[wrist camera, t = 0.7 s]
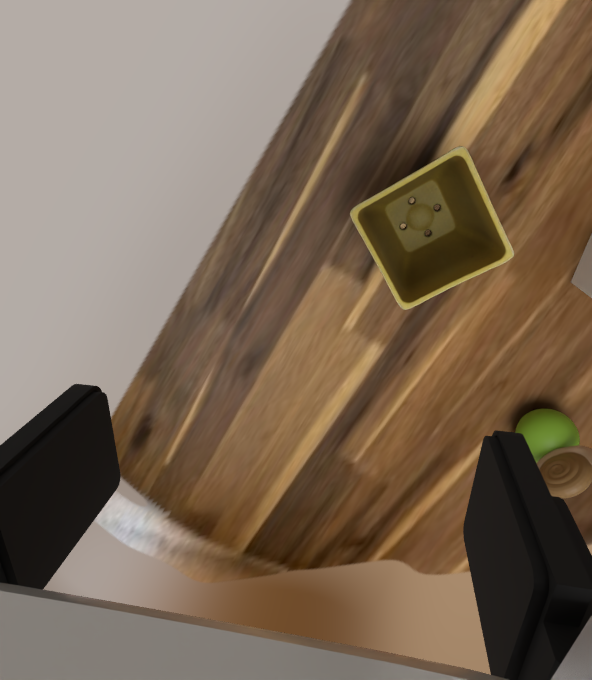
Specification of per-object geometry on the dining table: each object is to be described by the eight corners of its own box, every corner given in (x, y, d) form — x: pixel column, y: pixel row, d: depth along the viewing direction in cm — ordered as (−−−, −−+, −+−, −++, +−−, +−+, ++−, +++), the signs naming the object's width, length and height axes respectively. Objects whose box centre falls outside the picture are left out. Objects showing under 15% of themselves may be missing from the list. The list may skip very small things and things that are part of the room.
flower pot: (447, 141, 39) (465, 142, 31) (489, 234, 41) (517, 258, 33) (353, 197, 42) (347, 211, 33) (397, 280, 44) (402, 312, 36)
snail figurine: (587, 422, 46) (651, 509, 36) (527, 452, 49) (569, 542, 38) (558, 383, 45) (615, 460, 34) (498, 415, 48) (533, 497, 37)
